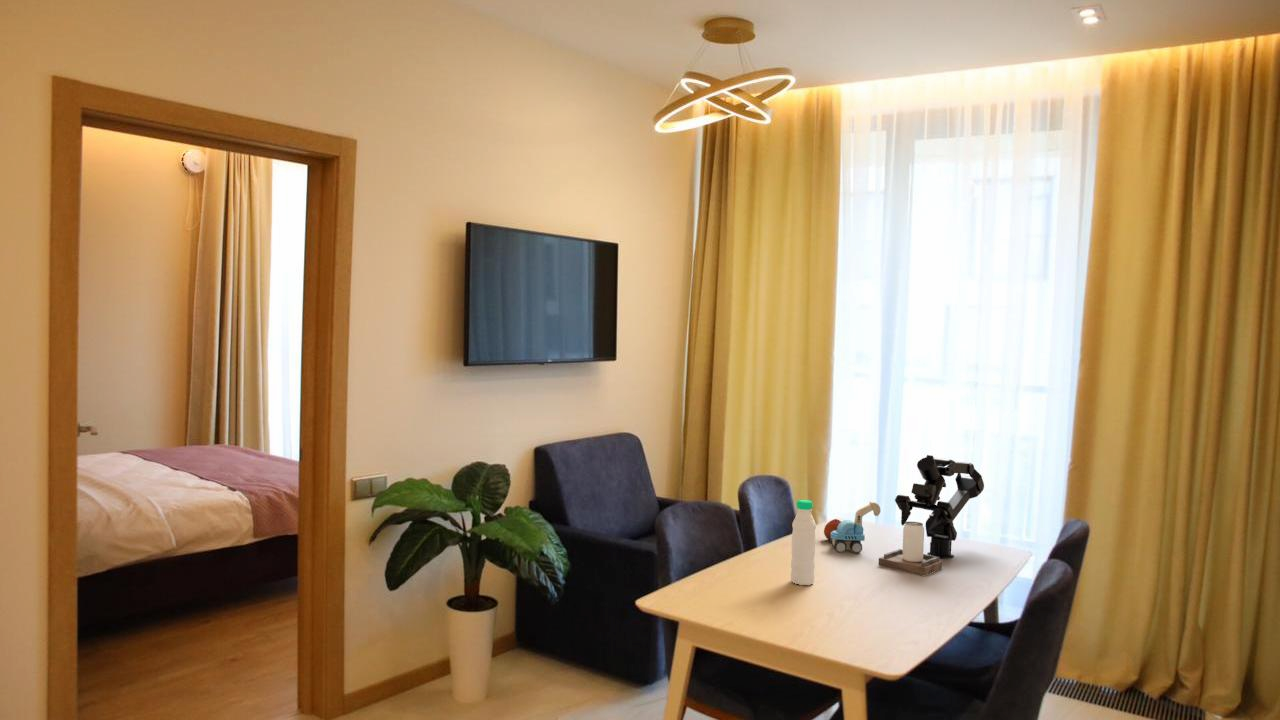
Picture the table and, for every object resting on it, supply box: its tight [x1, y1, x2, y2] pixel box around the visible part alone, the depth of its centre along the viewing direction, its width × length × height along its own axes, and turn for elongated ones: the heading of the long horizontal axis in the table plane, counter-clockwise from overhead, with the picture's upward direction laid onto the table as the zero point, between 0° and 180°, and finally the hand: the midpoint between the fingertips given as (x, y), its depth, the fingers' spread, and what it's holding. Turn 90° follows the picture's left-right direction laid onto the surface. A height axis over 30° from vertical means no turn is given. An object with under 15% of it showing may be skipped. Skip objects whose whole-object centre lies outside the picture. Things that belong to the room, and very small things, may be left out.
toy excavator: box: [829, 501, 881, 554], centre depth 316 cm, size 9×17×17 cm, turn 89°
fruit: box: [823, 518, 842, 541], centre depth 329 cm, size 9×9×8 cm
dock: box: [878, 548, 943, 577], centre depth 296 cm, size 12×16×4 cm
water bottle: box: [790, 499, 817, 586], centre depth 275 cm, size 7×7×25 cm
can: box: [902, 521, 925, 562], centre depth 295 cm, size 6×6×12 cm
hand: (915, 527), depth 297 cm, fingers open, 9 cm apart
